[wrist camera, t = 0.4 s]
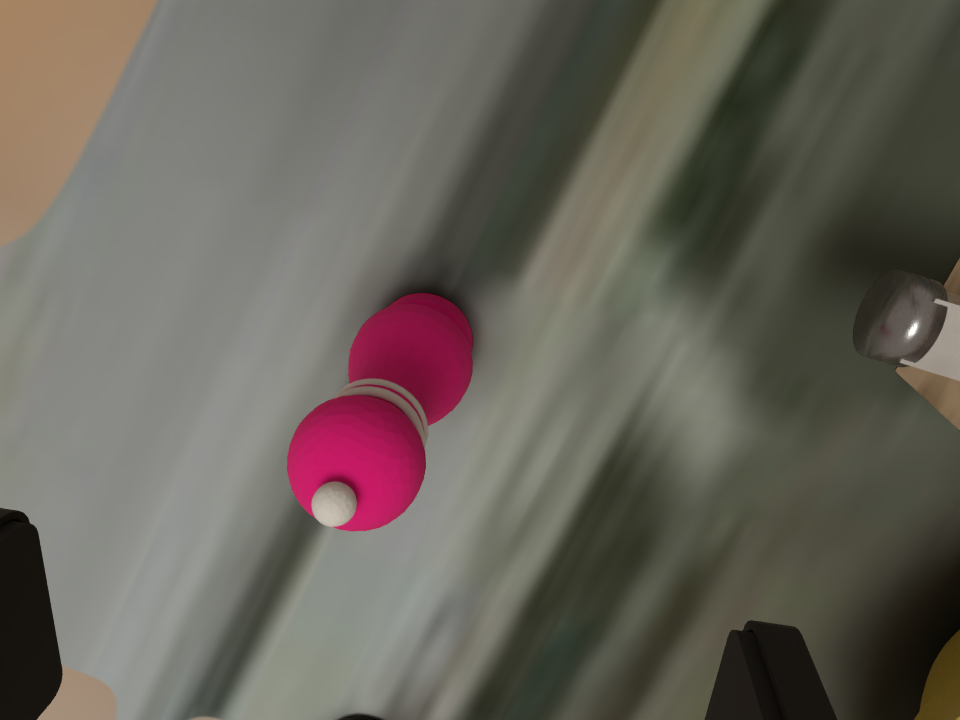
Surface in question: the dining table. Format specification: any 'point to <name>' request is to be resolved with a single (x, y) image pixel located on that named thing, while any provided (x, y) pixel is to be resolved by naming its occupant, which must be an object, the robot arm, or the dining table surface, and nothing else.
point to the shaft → (910, 324)
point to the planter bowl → (943, 685)
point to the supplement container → (359, 718)
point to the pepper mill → (382, 415)
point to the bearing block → (940, 391)
